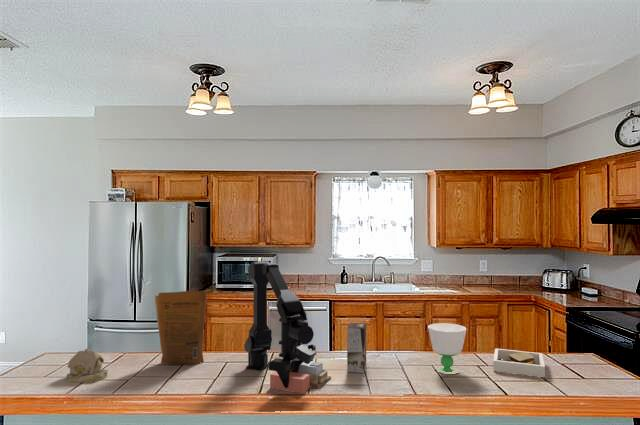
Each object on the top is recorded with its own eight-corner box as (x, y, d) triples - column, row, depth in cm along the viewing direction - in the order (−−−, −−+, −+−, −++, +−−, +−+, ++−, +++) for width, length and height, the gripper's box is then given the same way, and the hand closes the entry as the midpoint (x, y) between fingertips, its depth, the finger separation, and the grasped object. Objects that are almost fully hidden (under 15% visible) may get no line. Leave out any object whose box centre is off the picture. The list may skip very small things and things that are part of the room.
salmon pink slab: (270, 388, 148) (270, 374, 148) (277, 383, 153) (277, 369, 153) (303, 393, 143) (303, 379, 143) (309, 388, 148) (309, 374, 148)
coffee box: (364, 373, 162) (364, 328, 162) (346, 372, 163) (346, 327, 163) (366, 365, 171) (366, 322, 171) (350, 364, 172) (350, 321, 172)
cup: (425, 374, 161) (424, 329, 161) (430, 362, 174) (430, 321, 174) (465, 379, 156) (465, 333, 156) (468, 367, 169) (467, 324, 169)
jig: (276, 381, 154) (276, 371, 154) (290, 372, 163) (290, 363, 163) (319, 388, 148) (319, 378, 148) (330, 378, 157) (330, 368, 157)
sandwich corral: (493, 371, 164) (493, 360, 164) (495, 358, 179) (495, 348, 179) (544, 378, 157) (544, 366, 157) (542, 363, 172) (542, 353, 172)
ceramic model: (57, 381, 155) (58, 352, 155) (81, 370, 165) (81, 343, 166) (93, 384, 152) (94, 354, 152) (115, 373, 163) (115, 345, 163)
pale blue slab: (284, 377, 155) (284, 362, 155) (291, 372, 160) (291, 358, 160) (316, 382, 151) (316, 366, 151) (322, 377, 155) (322, 362, 155)
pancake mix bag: (204, 366, 170) (204, 291, 171) (153, 366, 170) (154, 292, 170) (208, 360, 177) (208, 289, 177) (159, 360, 176) (160, 289, 177)
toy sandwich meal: (491, 362, 174) (491, 350, 174) (525, 362, 175) (525, 350, 175) (507, 374, 162) (507, 360, 162) (543, 373, 163) (543, 359, 163)
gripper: (299, 347, 136) (299, 399, 136) (323, 333, 153) (323, 379, 153) (267, 343, 141) (267, 393, 141) (294, 329, 158) (294, 374, 158)
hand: (290, 384), depth 148 cm, fingers closed on salmon pink slab, 5 cm apart
